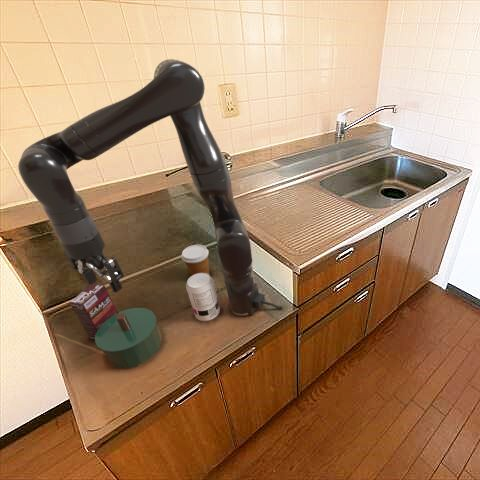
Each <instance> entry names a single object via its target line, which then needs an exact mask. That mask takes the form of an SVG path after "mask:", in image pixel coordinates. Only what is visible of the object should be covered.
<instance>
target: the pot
mask: <svg viewBox="0 0 480 480" xmlns="http://www.w3.org/2000/svg"><path fill="white" fill-rule="evenodd" d="M162 342H163V336H162V332H161V330H160V327H159V325H158V323H157V321H156V326H155V328H154V330H153V332H152V333H151V334H150V335H149V337H147V338H146V339H145V340H144V341H143V342H141V343H140V344H138V345H136V346H135V347H132V348H130V349H127V350H124V351H120V352H106V351H103V350H102V352H103V354H104V355H105V357H106V358H107V360H108V362H109V364H110V365H111V366H112V367H114V368H116V369H121V370H127V369H133V368H136V367H139V365H141V364H143V363H145V362H147V361H148V360H149V359H151V358H152V357H154V355H155V354H156V353H157V352H158V351H159V349H160V347H161V344H162Z"/></svg>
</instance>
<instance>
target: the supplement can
mask: <svg viewBox="0 0 480 480" xmlns="http://www.w3.org/2000/svg"><path fill="white" fill-rule="evenodd" d="M185 288H186V292H187V295H188V299H189V301H190V305H191V309H192V311H193V315H194V317H195V319H196V320H198V321H199V322H208V321H211V320H213V319H215V318H216V317H217V316H218V315H219V314H220V311H221V307H220V303H219V298H218V295H217V294H218V293H217V289H216V286H215V281H214V279H213V277H212V276H211V275H210V273H209V274H207V273H197V274H194V275H192V276H191V275H190V276H189V277H188V279H187V281H186V285H185Z"/></svg>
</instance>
